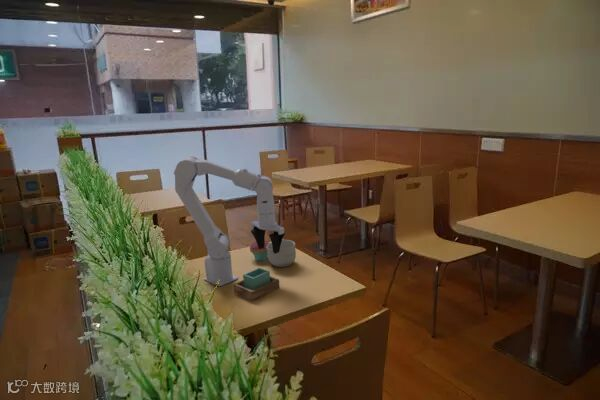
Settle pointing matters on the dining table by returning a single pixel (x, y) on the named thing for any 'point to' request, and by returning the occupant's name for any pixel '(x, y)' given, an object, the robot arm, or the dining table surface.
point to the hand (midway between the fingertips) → (268, 250)
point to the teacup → (282, 254)
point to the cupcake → (259, 251)
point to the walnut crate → (257, 292)
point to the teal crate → (256, 278)
